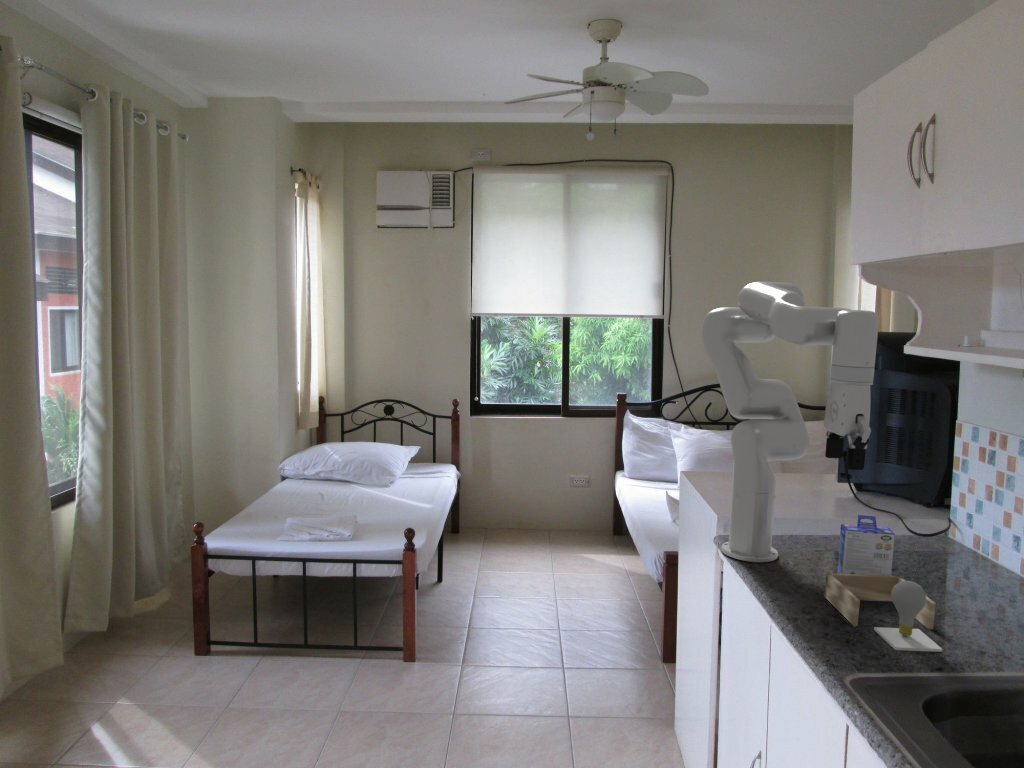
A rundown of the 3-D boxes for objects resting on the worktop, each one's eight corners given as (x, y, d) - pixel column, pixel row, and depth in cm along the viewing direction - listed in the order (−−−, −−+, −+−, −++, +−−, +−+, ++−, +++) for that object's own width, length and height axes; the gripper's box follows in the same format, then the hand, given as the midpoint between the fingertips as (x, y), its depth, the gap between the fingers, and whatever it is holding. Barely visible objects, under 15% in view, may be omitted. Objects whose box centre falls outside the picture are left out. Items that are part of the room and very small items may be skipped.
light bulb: (907, 644, 134) (912, 588, 133) (881, 632, 139) (885, 578, 138) (929, 640, 136) (934, 585, 135) (902, 628, 141) (907, 574, 140)
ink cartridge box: (884, 582, 166) (890, 516, 164) (891, 591, 160) (898, 523, 158) (835, 577, 168) (840, 512, 166) (840, 586, 162) (846, 519, 160)
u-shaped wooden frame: (824, 597, 156) (826, 573, 155) (897, 600, 156) (899, 576, 155) (853, 626, 142) (855, 600, 142) (933, 629, 142) (935, 603, 142)
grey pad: (874, 629, 141) (874, 627, 141) (918, 631, 141) (918, 628, 141) (895, 650, 133) (895, 647, 133) (942, 651, 133) (942, 649, 133)
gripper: (814, 369, 156) (807, 453, 158) (851, 380, 139) (842, 473, 141) (852, 371, 156) (844, 454, 158) (893, 381, 139) (884, 475, 141)
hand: (843, 463), depth 150 cm, fingers open, 9 cm apart
